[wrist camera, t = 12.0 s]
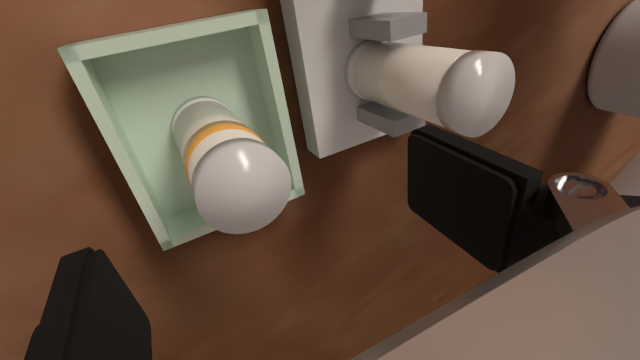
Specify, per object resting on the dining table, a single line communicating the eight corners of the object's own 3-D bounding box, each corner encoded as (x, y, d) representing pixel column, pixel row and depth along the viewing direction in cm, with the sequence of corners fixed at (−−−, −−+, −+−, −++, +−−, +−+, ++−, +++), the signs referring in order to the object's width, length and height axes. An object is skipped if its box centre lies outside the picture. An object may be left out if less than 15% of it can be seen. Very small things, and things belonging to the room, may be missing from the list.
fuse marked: (160, 106, 18) (179, 166, 11) (225, 88, 19) (280, 133, 12) (184, 164, 20) (213, 248, 13) (242, 145, 21) (298, 212, 14)
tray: (68, 43, 16) (57, 48, 13) (250, 9, 19) (267, 8, 16) (160, 224, 22) (163, 251, 19) (288, 176, 24) (304, 194, 22)
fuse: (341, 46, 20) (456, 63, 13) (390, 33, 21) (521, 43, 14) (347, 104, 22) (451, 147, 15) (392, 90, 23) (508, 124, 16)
